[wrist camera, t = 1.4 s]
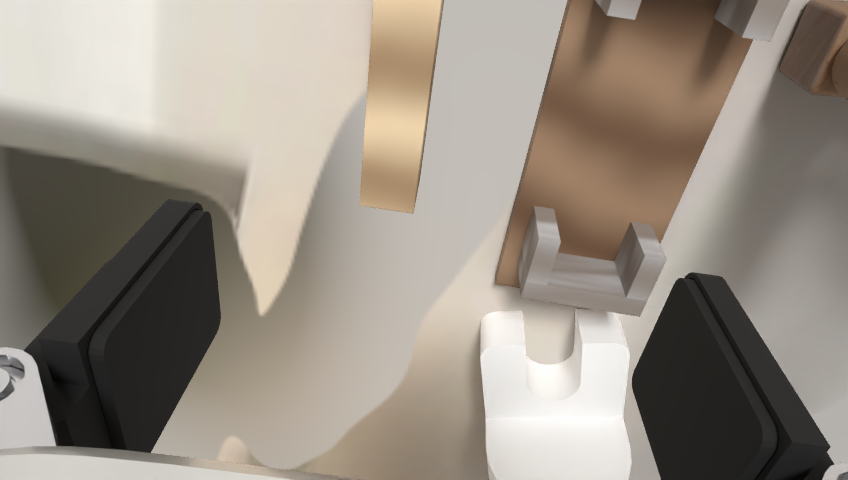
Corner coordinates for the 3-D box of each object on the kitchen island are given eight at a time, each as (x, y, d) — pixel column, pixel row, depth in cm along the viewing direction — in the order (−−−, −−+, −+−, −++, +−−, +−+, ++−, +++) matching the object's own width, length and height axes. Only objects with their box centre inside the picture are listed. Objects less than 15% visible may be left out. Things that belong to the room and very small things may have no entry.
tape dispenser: (493, 464, 50) (495, 597, 41) (479, 309, 40) (478, 439, 31) (605, 465, 48) (632, 602, 40) (620, 304, 39) (660, 438, 30)
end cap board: (610, -164, 24) (634, -168, 20) (818, -130, 24) (879, -128, 20) (495, 274, 38) (497, 320, 34) (628, 295, 38) (644, 343, 34)
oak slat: (396, -142, 25) (383, -142, 22) (461, -132, 25) (458, -130, 22) (371, 172, 34) (359, 205, 31) (419, 179, 34) (413, 213, 31)
